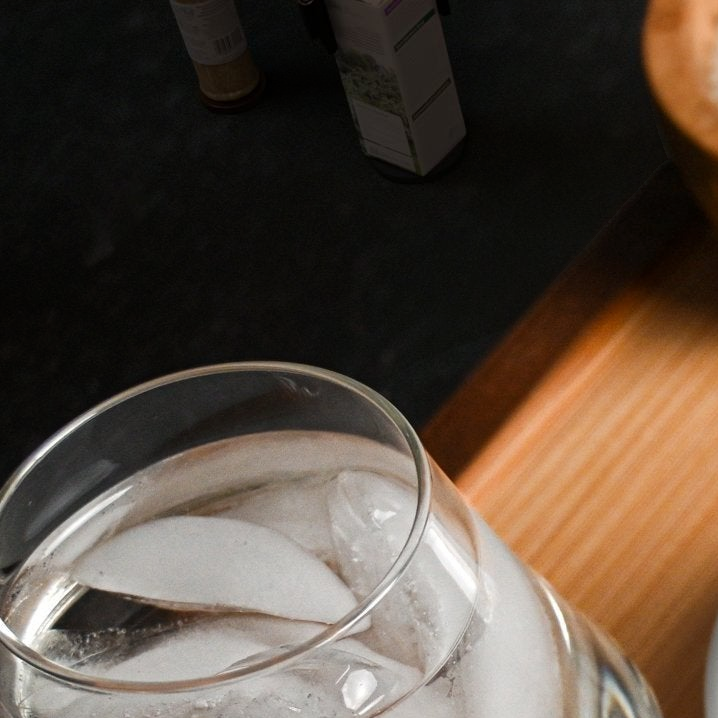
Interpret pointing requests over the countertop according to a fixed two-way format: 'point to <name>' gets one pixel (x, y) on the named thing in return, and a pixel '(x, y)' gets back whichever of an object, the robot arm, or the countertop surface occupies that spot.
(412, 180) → the side coaster
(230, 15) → the sprinkles bottle
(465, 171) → the countertop surface
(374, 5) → the syrup box
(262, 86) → the back coaster
